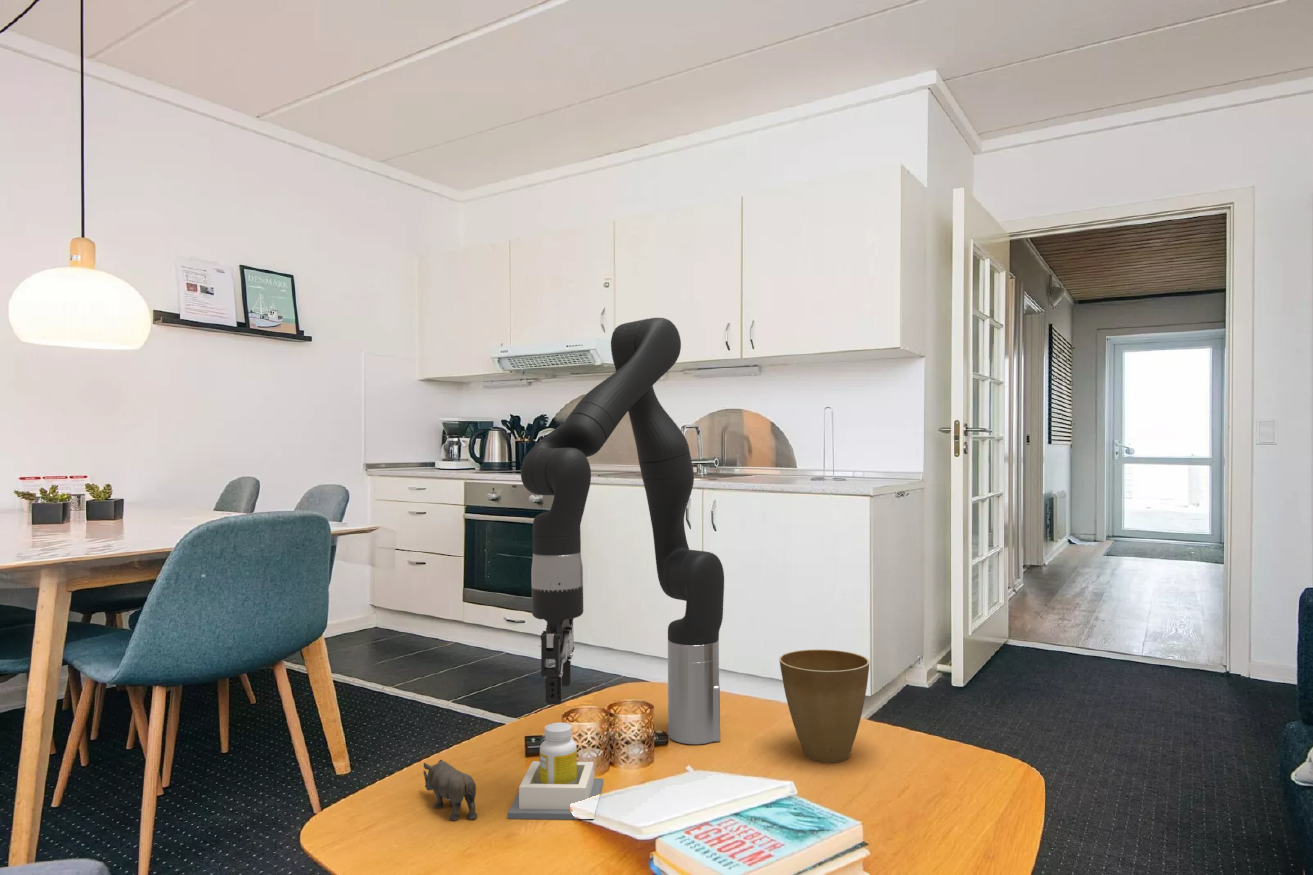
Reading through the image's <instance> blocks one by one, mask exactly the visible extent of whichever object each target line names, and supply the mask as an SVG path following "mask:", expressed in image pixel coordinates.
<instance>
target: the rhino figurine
mask: <svg viewBox="0 0 1313 875" xmlns="http://www.w3.org/2000/svg"><path fill="white" fill-rule="evenodd" d="M423 768H424V770H423V771H422V772H423V777H424V781H425V785H424V788H425V789H426V791H433V794H434V796H435V797H436V802H434V804H433V805H432V806H433V807H432V808H434V809H440V808H443V807H444V805H445V804H444V800H443V799H445V800H449V805H450V806H452V811H451V813H450V814H449V815H448V821H457V820H459V818H460V814H459V813H460V811H461V807H462V802H463V801H464V799H465V803H466V804H467V807H468V814H466V819H468V820H469V821H472V820H475V819H477V818H478V813H477V812H476V803H475V799H476V793H477V786H476V782H475V780H474V779H473V777H472V776H471V775H469V774H467V773H465V772H463V771H460V770H458V769H457V768H455V767H454V766H452V765H451V764H449V763H448V762H446V761H445V760H442V759H440V760H439V761H438V762H437V763H435V764H433V765H430V764H427V763H426V762H423ZM426 770H428V771H426Z"/></svg>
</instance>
